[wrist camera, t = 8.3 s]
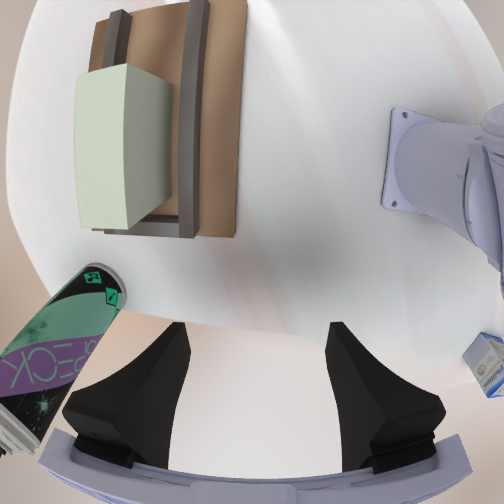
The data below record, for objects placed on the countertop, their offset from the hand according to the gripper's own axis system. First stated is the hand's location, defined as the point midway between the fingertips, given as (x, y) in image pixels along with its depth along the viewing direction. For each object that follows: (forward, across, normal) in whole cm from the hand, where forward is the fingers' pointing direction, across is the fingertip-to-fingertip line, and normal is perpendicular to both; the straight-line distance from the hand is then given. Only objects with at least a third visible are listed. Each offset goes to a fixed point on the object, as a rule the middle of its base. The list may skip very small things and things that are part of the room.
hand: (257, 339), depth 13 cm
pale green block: (+8, +7, -10) cm, 15 cm away
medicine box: (+10, -32, +15) cm, 37 cm away
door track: (+9, +7, -12) cm, 17 cm away
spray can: (+10, +15, +3) cm, 18 cm away
